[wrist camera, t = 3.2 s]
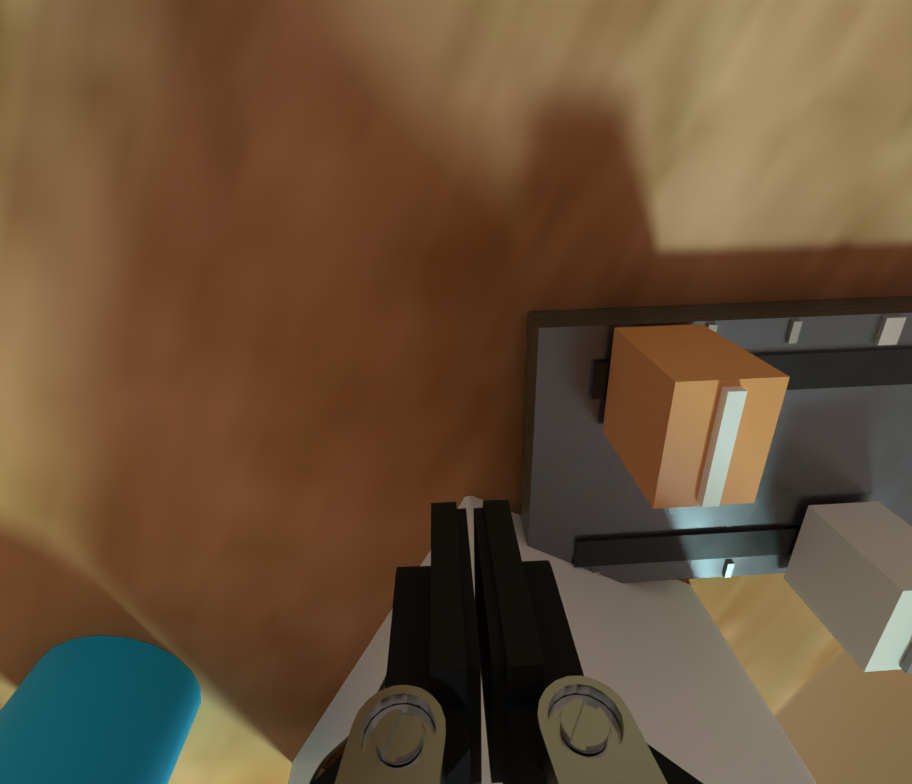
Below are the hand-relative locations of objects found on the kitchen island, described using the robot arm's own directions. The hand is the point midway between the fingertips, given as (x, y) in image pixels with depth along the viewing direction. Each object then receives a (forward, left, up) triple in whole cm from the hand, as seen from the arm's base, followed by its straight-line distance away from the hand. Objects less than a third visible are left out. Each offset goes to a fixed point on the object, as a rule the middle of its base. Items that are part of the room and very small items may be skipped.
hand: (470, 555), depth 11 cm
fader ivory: (+7, +16, -7) cm, 19 cm away
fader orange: (-1, +7, -7) cm, 10 cm away
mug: (+18, -19, -10) cm, 28 cm away
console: (+3, +12, -10) cm, 16 cm away
